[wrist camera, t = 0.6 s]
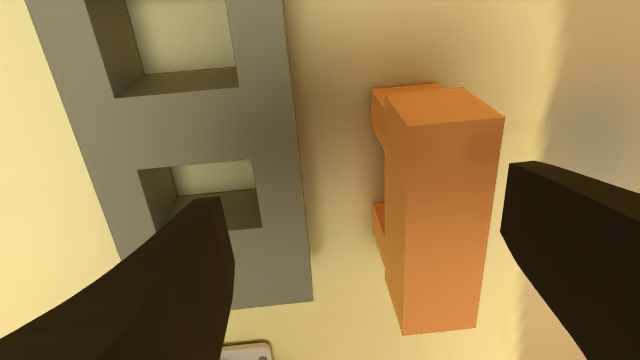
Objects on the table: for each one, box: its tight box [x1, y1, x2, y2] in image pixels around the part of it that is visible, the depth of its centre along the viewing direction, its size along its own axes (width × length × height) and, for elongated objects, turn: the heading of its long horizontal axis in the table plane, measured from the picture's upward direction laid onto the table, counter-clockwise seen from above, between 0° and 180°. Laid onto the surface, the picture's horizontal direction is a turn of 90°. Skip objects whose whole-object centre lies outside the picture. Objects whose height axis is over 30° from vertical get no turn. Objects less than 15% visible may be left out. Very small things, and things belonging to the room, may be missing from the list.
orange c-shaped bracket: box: [371, 83, 505, 336], centre depth 18 cm, size 9×3×6 cm, turn 4°
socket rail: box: [25, 0, 313, 310], centre depth 17 cm, size 18×8×4 cm, turn 4°
